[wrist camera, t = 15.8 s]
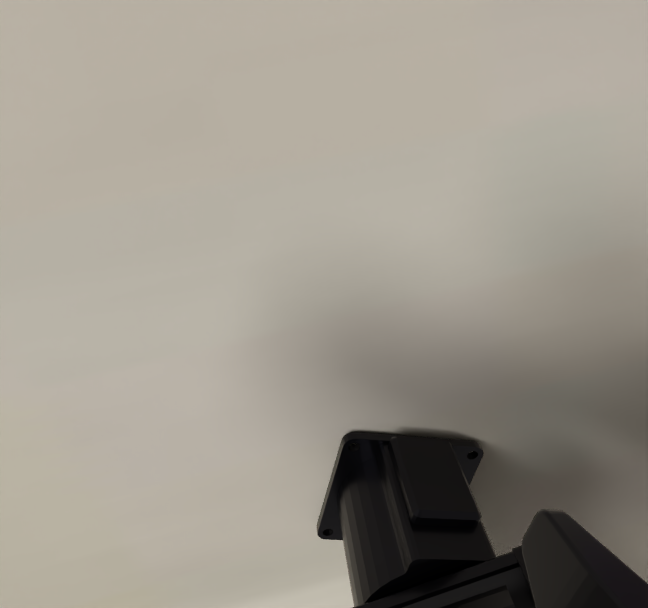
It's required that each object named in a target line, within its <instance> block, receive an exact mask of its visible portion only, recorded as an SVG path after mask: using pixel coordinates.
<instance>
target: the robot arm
mask: <svg viewBox="0 0 648 608" xmlns="http://www.w3.org/2000/svg"><path fill="white" fill-rule="evenodd" d="M352 443H357V444H355V445H350V444H352ZM471 451H473V452H471ZM470 452H471V453H470ZM482 457H483V450H482V448H481V446H480V444H479V443H478V442H476V441H470V440H456V439H443V438H429V437H416V436H402V435H388V434H375V433H361V432H351V433H348V434H346V435H345V436H344V437H343V438H342V441H341V444H340V447H339V451H338V454H337V458H336V461H335V464H334V468H333V471H332V475H331V478H330V482H329V485H328V488H327V492H326V495H325V499H324V502H323V505H322V509H321V512H320V516H319V519H318V523H317V533H318V536H319V537H320V538H322V539H331V540H343V543H344V549H345V555H346V560H347V566H348V572H349V578H350V584H351V590H352V596H353V602H354V607H353V608H648V584H647V583H646V582H645V581H644V580H643V579H642V578H640V577H639V576H638V575H637V574H636V573H635V572H634V571H632V570H631V569H630V568H629V567H628V566H627V565H625V564H624V563H623V562H622V561H621V560H620V559H619V558H617V557H616V556H615V555H614V554H613V553H612V552H610V551H609V550H608V549H607V548H606V547H605V546H604V545H602V544H601V543H600V542H599V541H598V540H597V539H595V538H594V537H593V536H592V535H591V534H590V533H589V532H587V531H586V530H585V529H584V528H583V527H582V526H580V525H579V524H578V523H577V522H576V521H575V520H574V519H572V518H571V517H570V516H569V515H568V514H566V513H565V512H563V511H561V510H550V509H542V510H540V511H538V512H537V514H536V515H535V517H534V519H533V521H532V523H531V524H530V526H529V528H528V530H527V532H526V533H525V535H524V537H523V540H522V545H521V546H519V547H516V548H513V549H512V552H510V553H507V554H504V555H501V556H498V557H496V555H495V553H494V550H493V548H492V545H491V543H490V541H489V538H488V536H487V534H486V531H485V529H484V526H483V524H482V522H481V513H480V510H479V508H478V506H477V503H476V501H475V499H474V496H473V494H472V492H471V489H470V487H469V485H470V483H471V481H472V478H473V476H474V474H475V472H476V470H477V467H478V465H479V463H480V461H481V459H482Z"/></svg>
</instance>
